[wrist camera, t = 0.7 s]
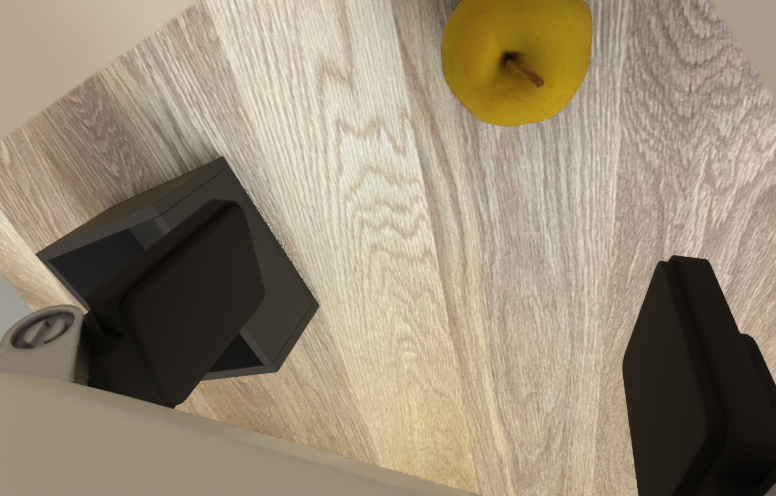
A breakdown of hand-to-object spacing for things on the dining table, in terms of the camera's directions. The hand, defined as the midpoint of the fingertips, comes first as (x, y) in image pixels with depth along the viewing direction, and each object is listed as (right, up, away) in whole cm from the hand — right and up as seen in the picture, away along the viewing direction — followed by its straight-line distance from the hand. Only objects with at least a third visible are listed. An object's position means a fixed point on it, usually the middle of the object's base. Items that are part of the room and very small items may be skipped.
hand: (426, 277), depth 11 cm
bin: (-16, 0, +29) cm, 34 cm away
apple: (+6, +12, +13) cm, 19 cm away
